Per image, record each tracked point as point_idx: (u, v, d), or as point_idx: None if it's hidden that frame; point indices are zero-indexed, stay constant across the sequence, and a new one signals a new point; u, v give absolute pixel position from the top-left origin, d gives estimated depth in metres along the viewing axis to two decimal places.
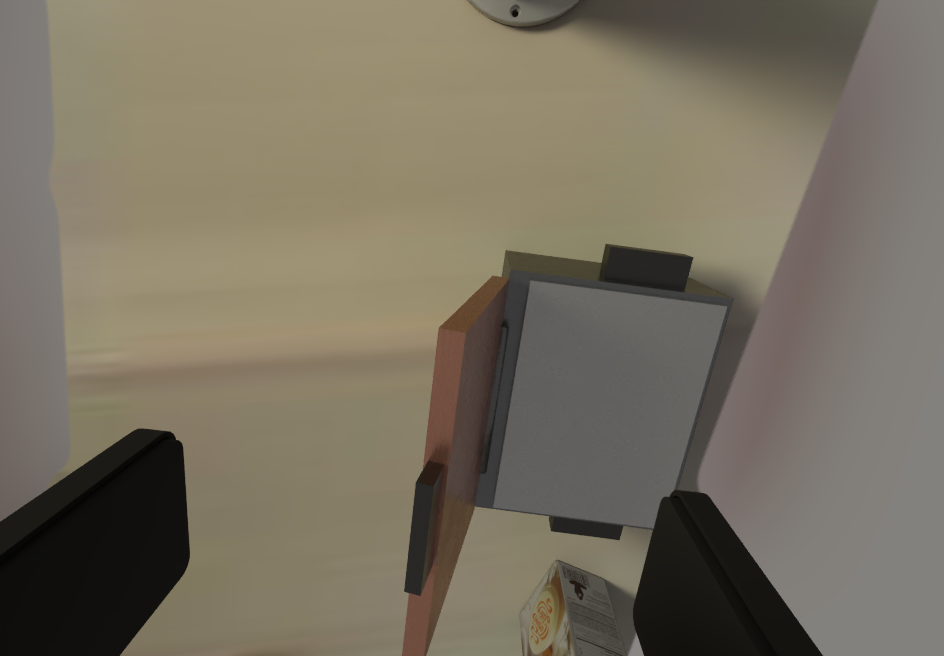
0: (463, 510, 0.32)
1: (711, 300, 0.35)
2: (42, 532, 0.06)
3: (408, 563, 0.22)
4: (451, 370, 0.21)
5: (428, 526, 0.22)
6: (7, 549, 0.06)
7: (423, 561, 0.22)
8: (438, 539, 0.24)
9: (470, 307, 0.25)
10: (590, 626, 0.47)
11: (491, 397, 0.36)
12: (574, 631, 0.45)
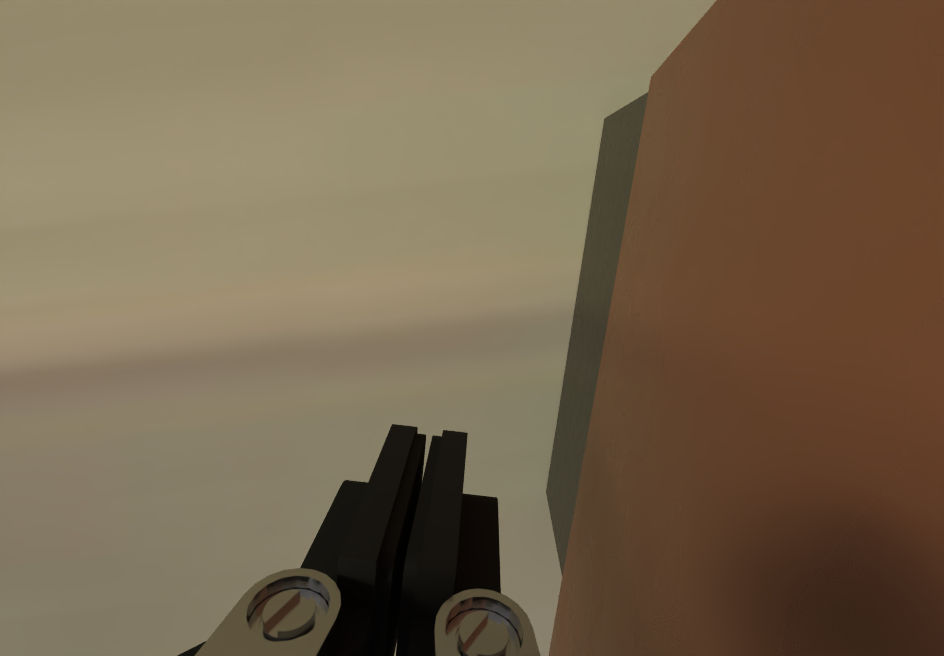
0: None
1: None
2: (395, 510, 0.07)
3: None
4: None
5: None
6: (385, 523, 0.07)
7: None
8: None
9: None
10: None
11: None
12: None
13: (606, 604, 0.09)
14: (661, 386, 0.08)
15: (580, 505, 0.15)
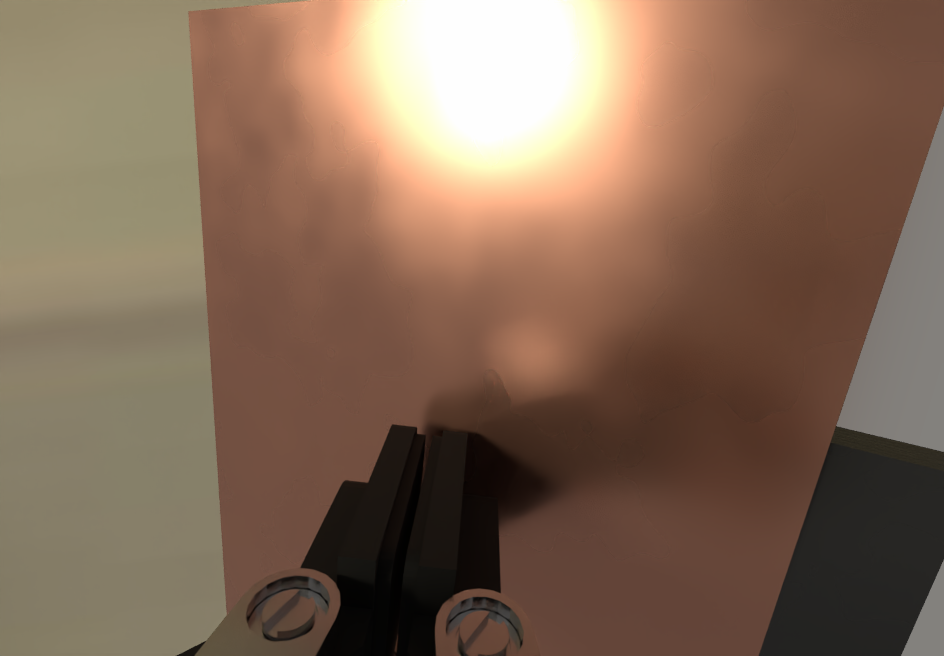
0: None
1: None
2: (395, 509, 0.07)
3: None
4: None
5: None
6: (385, 522, 0.07)
7: None
8: None
9: None
10: None
11: None
12: None
13: None
14: (415, 310, 0.10)
15: (242, 478, 0.14)
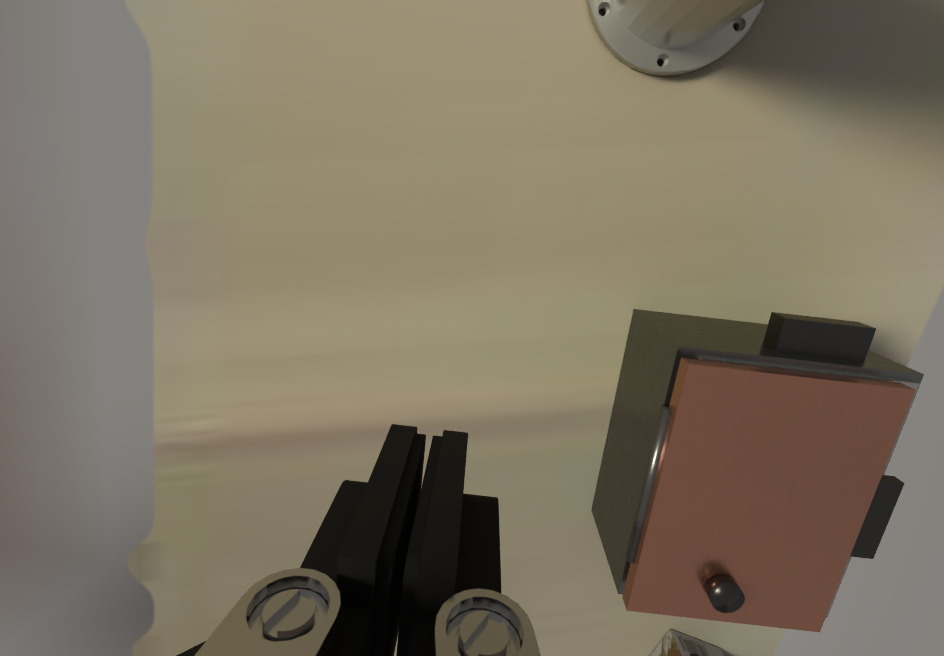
0: None
1: (900, 376, 0.31)
2: (395, 509, 0.07)
3: (880, 538, 0.33)
4: None
5: None
6: (384, 522, 0.07)
7: None
8: None
9: (840, 379, 0.30)
10: None
11: None
12: None
13: (741, 521, 0.33)
14: (768, 459, 0.31)
15: (663, 530, 0.33)
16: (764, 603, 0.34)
